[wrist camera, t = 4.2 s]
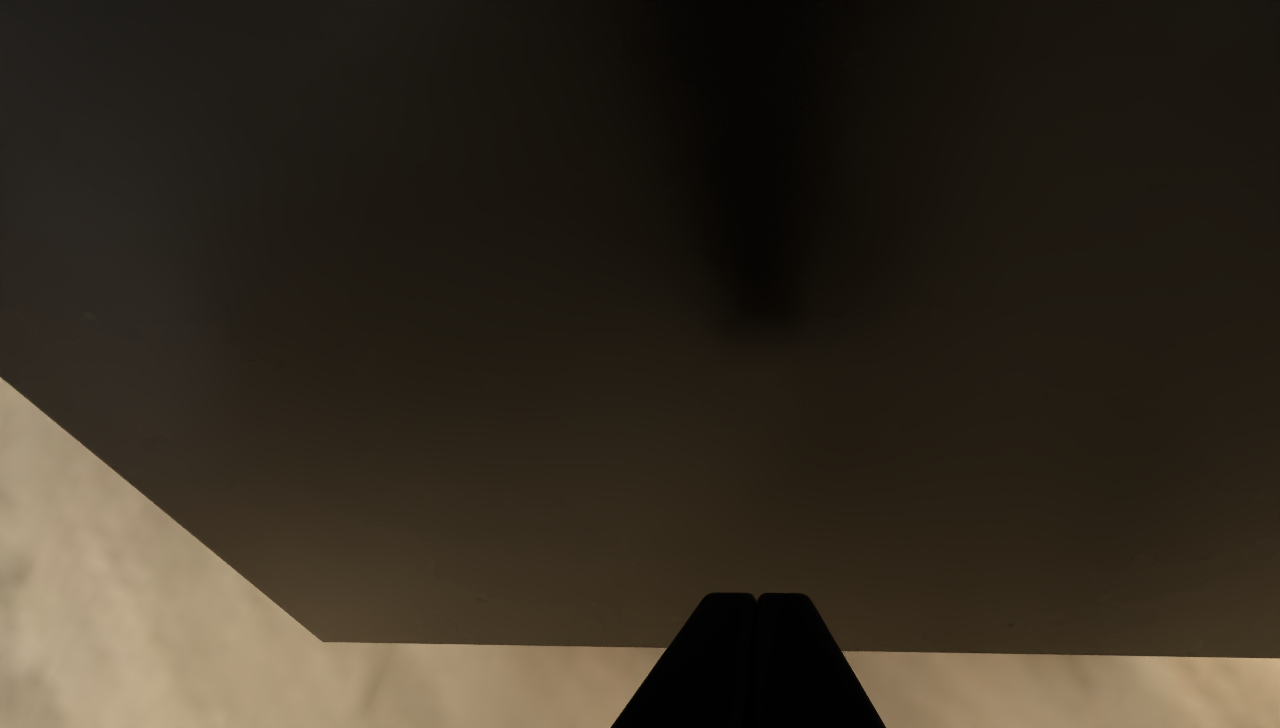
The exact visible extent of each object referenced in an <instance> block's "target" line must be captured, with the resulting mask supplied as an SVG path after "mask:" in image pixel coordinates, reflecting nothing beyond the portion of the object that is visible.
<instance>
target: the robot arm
mask: <svg viewBox="0 0 1280 728" xmlns="http://www.w3.org/2000/svg"><path fill="white" fill-rule="evenodd" d="M611 728H886V727H885V725H884V723H883V721H882V720H881V718H880V716H879V715H878V713H877V711H876V709H875V708H874V706H873V704H872V703H871V701H870V699H869V698H868V696H867V694H866V692H865V691H864V689H863V687H862V686H861V684H860V682H859V680H858V679H857V677H856V675H855V674H854V672H853V670H852V668H851V667H850V665H849V663H848V662H847V660H846V658H845V656H844V655H843V653H842V651H841V650H840V648H839V646H838V645H837V643H836V641H835V639H834V638H833V636H832V634H831V633H830V631H829V629H828V627H827V626H826V624H825V622H824V621H823V619H822V617H821V615H820V614H819V612H818V610H817V609H816V607H815V605H814V603H813V602H812V600H811V599H810V598H809V597H808V596H807V595H805V594H803V593H763V594H761V595H760V596H759V598H758V600H756V598H755V597H754V595H752V594H751V593H741V592H713V593H709V594H707V595H706V596H704V598H703V599H702V600H701V601H700V603H699V604H698V606H697V607H696V608H695V610H694V611H693V613H692V614H691V616H690V617H689V618H688V620H687V621H686V623H685V624H684V625H683V627H682V628H681V630H680V631H679V632H678V634H677V635H676V637H675V638H674V639H673V641H672V642H671V644H670V645H669V646H668V648H667V649H666V651H665V652H664V653H663V655H662V656H661V658H660V659H659V660H658V662H657V663H656V665H655V666H654V667H653V669H652V670H651V672H650V673H649V674H648V676H647V677H646V679H645V680H644V682H643V683H642V684H641V686H640V687H639V689H638V690H637V691H636V693H635V694H634V696H633V697H632V698H631V700H630V701H629V703H628V704H627V705H626V707H625V708H624V710H623V711H622V712H621V714H620V715H619V717H618V718H617V719H616V721H615V722H614V724H613V725H612V726H611Z"/></svg>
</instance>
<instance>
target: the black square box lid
mask: <svg viewBox="0 0 1280 728" xmlns="http://www.w3.org/2000/svg"><path fill="white" fill-rule="evenodd" d="M0 377H1V378H2V379H3V380H5V381H6V382H7V383H8V384H10V385H11V386H12V387H13V388H14V389H16V390H17V391H18V392H19V393H20V394H22V395H23V396H24V397H25V398H27V399H28V400H29V401H30V402H31V403H33V404H34V405H35V406H36V407H37V408H39V409H40V410H41V411H42V412H44V413H45V414H46V415H47V416H48V417H50V418H51V419H52V420H53V421H54V422H56V423H57V424H58V425H59V426H61V427H62V428H63V429H64V430H65V431H67V432H68V433H69V434H70V435H72V436H73V437H74V438H75V439H76V440H78V441H79V442H80V443H81V444H82V445H84V446H85V447H86V448H87V449H89V450H90V451H91V452H92V453H93V454H95V455H96V456H97V457H98V458H99V459H101V460H102V461H103V462H104V463H106V464H107V465H108V466H109V467H110V468H112V469H113V470H114V471H115V472H116V473H118V474H119V475H120V476H121V477H123V478H124V479H125V480H126V481H127V482H129V483H130V484H131V485H132V486H133V487H135V488H136V489H137V490H138V491H140V492H141V493H142V494H143V495H144V496H146V497H147V498H148V499H149V500H151V501H152V502H153V503H154V504H155V505H157V506H158V507H159V508H160V509H161V510H163V511H164V512H165V513H166V514H168V515H169V516H170V517H171V518H172V519H174V520H175V521H176V522H177V523H178V524H180V525H181V526H182V527H183V528H185V529H186V530H187V531H188V532H189V533H191V534H192V535H193V536H194V537H195V538H197V539H198V540H199V541H200V542H202V543H203V544H204V545H205V546H206V547H208V548H209V549H210V550H211V551H213V552H214V553H215V554H216V555H217V556H219V557H220V558H221V559H222V560H223V561H225V562H226V563H227V564H228V565H230V566H231V567H232V568H233V569H234V570H236V571H237V572H238V573H239V574H240V575H242V576H243V577H244V578H245V579H247V580H248V581H249V582H250V583H251V584H253V585H254V586H255V587H256V588H257V589H259V590H260V591H261V592H262V593H264V594H265V595H266V596H267V597H268V598H270V599H271V600H272V601H273V602H274V603H276V604H277V605H278V606H279V607H281V608H282V609H283V610H284V611H285V612H287V613H288V614H289V615H290V616H292V617H293V618H294V619H295V620H296V621H298V622H299V623H300V624H301V625H302V626H304V627H305V628H306V629H307V630H309V631H310V632H311V633H312V634H313V635H315V636H316V637H317V638H318V639H319V640H321V641H323V642H359V643H418V644H476V645H534V646H592V647H650V648H668V646H669V645H670V644H671V642H672V641H673V639H674V638H675V637H676V635H677V634H678V632H679V631H680V630H681V628H682V627H683V625H684V624H685V623H686V621H687V620H688V618H689V617H690V616H691V614H692V613H693V611H694V610H695V608H696V607H697V606H698V604H699V603H700V601H701V600H702V599H703V598H704V596H706V595H707V594H709V593H713V592H741V593H751V594H752V595H754V597H755V598H756V600H758V598H759V596H760V595H761V594H763V593H803V594H805V595H807V596H808V597H809V598H810V599H811V600H812V602H813V603H814V605H815V607H816V609H817V610H818V612H819V614H820V615H821V617H822V619H823V621H824V622H825V624H826V626H827V627H828V629H829V631H830V633H831V634H832V636H833V638H834V639H835V641H836V643H837V645H838V646H839V648H840V650H841V651H883V652H941V653H999V654H1057V655H1115V656H1173V657H1231V658H1280V0H0Z"/></svg>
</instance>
